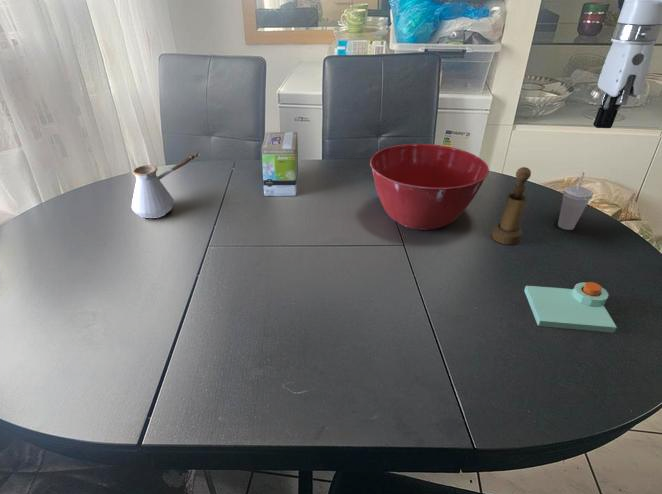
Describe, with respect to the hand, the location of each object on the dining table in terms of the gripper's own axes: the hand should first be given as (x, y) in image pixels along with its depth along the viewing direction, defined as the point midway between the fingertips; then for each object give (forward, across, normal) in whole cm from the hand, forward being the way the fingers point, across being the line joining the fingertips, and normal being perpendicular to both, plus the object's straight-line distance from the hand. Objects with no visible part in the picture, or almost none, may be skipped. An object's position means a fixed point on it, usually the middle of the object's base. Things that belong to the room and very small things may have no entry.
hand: (601, 126), depth 98 cm
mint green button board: (+25, -35, +10) cm, 44 cm away
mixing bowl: (+25, 0, +36) cm, 44 cm away
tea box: (+26, +17, +77) cm, 83 cm away
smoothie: (+25, 0, 0) cm, 25 cm away
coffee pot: (+26, -2, +105) cm, 108 cm away
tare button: (+22, -32, +6) cm, 39 cm away
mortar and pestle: (+25, -8, +16) cm, 31 cm away
